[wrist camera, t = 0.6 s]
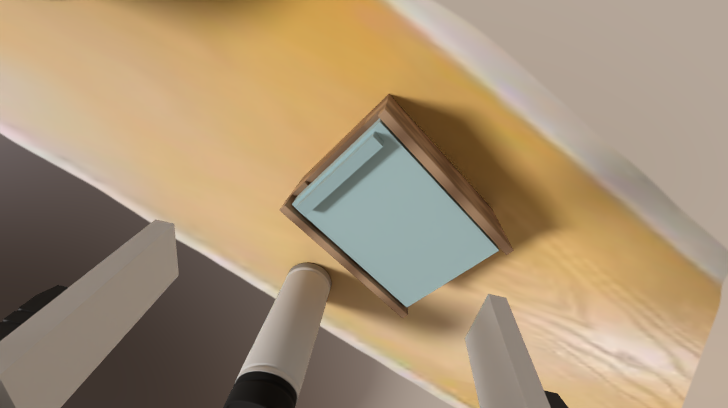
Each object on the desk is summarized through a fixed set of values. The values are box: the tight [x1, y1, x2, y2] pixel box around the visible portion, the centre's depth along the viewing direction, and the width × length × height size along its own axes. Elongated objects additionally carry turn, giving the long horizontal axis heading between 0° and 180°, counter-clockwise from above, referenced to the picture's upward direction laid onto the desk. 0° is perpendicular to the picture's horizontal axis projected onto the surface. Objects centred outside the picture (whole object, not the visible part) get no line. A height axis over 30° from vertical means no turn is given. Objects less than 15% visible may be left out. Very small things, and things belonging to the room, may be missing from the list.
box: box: [280, 94, 514, 318], centre depth 35 cm, size 18×14×8 cm
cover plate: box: [292, 118, 499, 307], centre depth 32 cm, size 17×12×4 cm
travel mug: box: [223, 263, 331, 408], centre depth 38 cm, size 6×7×20 cm
